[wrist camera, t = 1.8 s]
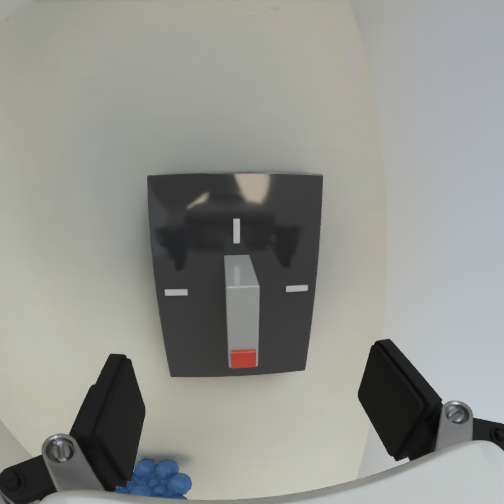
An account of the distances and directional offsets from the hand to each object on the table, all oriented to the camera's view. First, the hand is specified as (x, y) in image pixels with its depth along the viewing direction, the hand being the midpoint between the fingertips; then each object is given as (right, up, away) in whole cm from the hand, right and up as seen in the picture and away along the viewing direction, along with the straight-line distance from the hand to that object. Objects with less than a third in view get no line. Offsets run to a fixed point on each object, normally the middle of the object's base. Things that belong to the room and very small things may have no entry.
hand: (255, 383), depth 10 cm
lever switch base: (-1, +4, +10) cm, 11 cm away
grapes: (-13, -22, +17) cm, 30 cm away
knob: (-1, +3, +7) cm, 8 cm away
